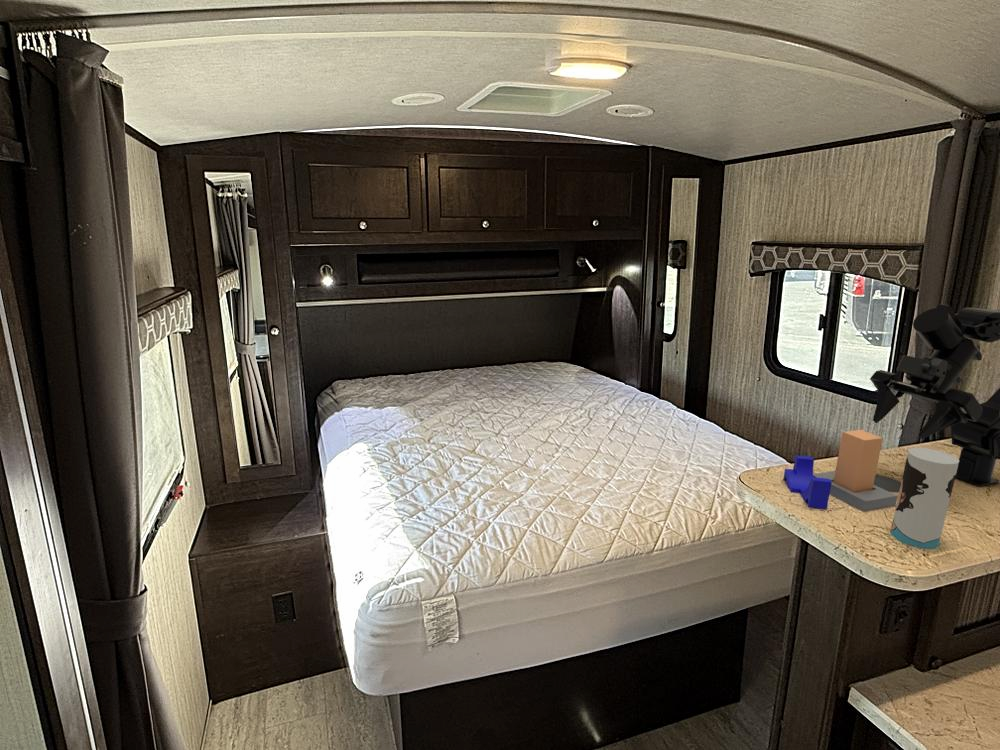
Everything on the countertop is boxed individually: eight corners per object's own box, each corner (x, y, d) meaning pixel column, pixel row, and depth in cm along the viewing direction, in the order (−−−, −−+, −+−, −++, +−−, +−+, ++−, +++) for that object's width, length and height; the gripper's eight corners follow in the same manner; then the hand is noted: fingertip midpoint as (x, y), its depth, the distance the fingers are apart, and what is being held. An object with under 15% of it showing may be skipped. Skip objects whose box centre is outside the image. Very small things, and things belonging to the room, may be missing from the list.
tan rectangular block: (849, 487, 119) (860, 429, 116) (870, 498, 115) (883, 438, 112) (831, 490, 117) (842, 431, 114) (852, 501, 113) (864, 440, 110)
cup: (936, 537, 102) (956, 453, 98) (940, 555, 96) (962, 467, 92) (889, 526, 105) (907, 444, 101) (890, 543, 100) (909, 457, 96)
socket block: (839, 481, 123) (841, 469, 122) (894, 508, 112) (897, 495, 111) (808, 486, 120) (811, 474, 120) (862, 514, 109) (865, 501, 109)
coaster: (878, 475, 127) (879, 472, 127) (916, 491, 119) (916, 488, 119) (850, 479, 124) (850, 476, 124) (886, 496, 117) (887, 493, 117)
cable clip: (782, 482, 122) (787, 454, 120) (806, 485, 121) (811, 456, 120) (799, 509, 111) (804, 479, 109) (825, 513, 110) (831, 482, 108)
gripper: (882, 330, 121) (834, 392, 121) (982, 349, 104) (927, 422, 104) (906, 362, 126) (860, 422, 125) (1005, 386, 109) (953, 455, 108)
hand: (896, 429), depth 116 cm, fingers open, 9 cm apart
